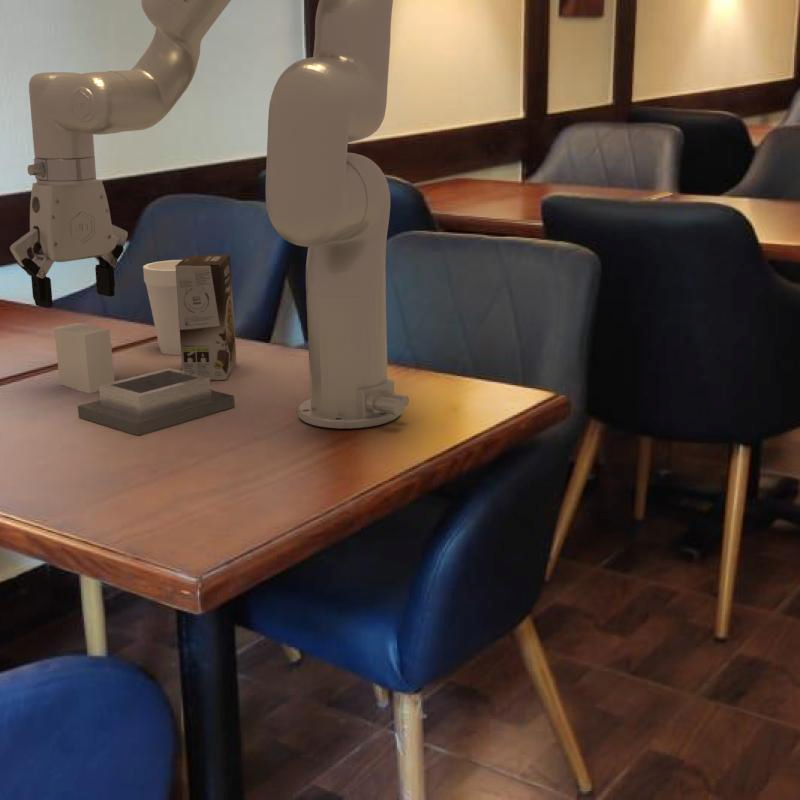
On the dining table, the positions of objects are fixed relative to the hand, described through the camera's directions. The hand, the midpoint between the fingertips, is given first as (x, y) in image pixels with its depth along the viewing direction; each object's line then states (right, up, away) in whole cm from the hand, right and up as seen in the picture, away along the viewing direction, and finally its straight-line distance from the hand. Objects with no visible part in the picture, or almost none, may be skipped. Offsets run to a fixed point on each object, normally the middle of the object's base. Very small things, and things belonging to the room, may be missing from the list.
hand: (75, 300), depth 161 cm
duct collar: (+13, -15, -10) cm, 22 cm away
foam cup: (+10, -6, +22) cm, 25 cm away
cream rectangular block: (+1, -11, +3) cm, 12 cm away
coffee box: (+17, -10, +9) cm, 21 cm away
